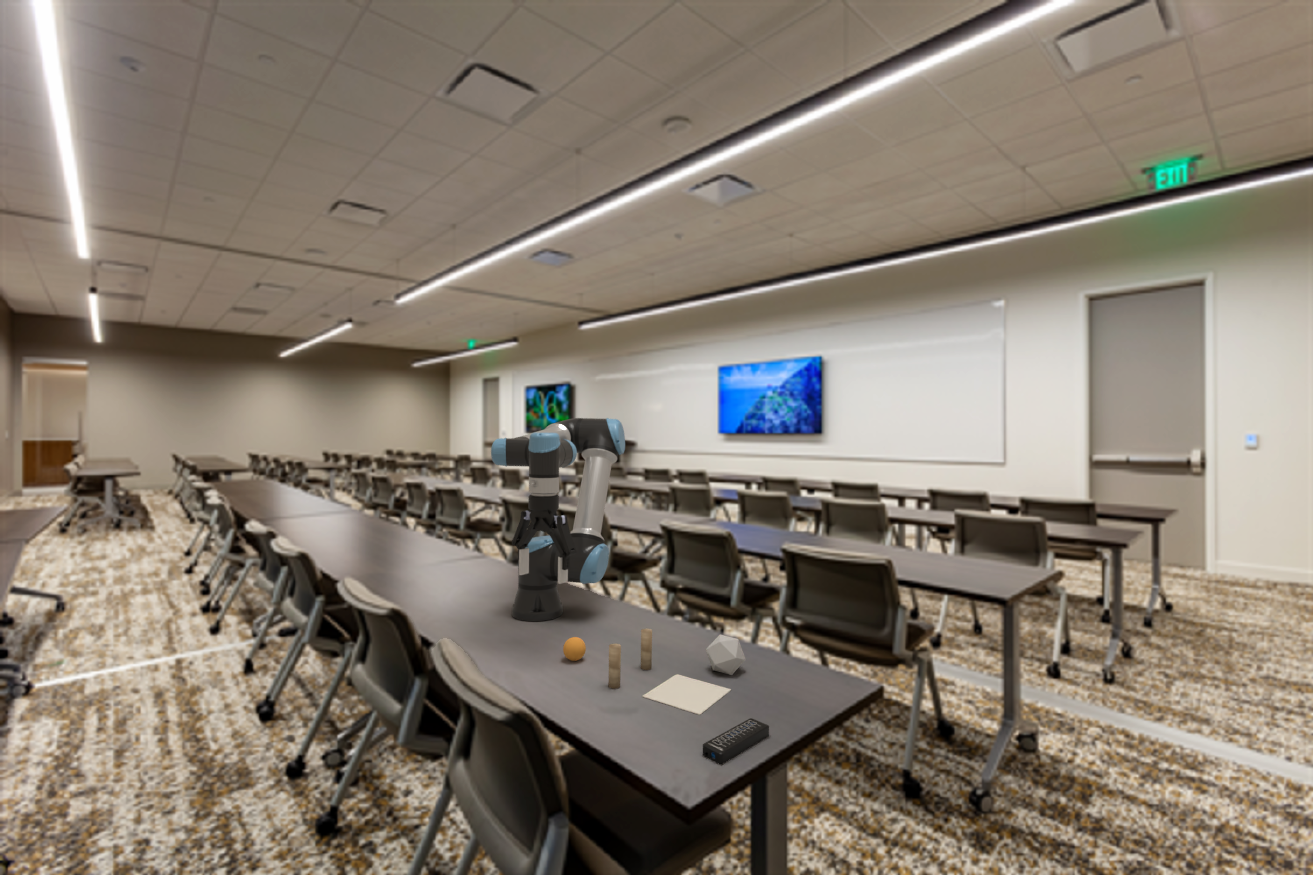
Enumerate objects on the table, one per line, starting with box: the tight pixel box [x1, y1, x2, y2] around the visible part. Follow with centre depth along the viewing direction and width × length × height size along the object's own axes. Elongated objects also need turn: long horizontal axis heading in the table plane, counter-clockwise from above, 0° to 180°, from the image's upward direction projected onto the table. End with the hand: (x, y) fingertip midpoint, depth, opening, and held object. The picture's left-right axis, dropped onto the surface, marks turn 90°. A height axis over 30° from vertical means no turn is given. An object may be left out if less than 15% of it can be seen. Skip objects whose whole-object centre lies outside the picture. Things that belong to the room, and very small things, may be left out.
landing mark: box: [641, 673, 732, 716], centre depth 130 cm, size 14×14×1 cm
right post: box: [640, 628, 653, 671], centre depth 144 cm, size 3×3×9 cm
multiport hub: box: [702, 717, 770, 765], centre depth 110 cm, size 4×14×2 cm, turn 135°
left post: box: [608, 643, 622, 690], centre depth 133 cm, size 3×3×9 cm
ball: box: [562, 636, 587, 662], centre depth 148 cm, size 6×6×6 cm
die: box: [705, 634, 747, 676], centre depth 143 cm, size 8×9×10 cm
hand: (542, 578), depth 152 cm, fingers open, 13 cm apart
